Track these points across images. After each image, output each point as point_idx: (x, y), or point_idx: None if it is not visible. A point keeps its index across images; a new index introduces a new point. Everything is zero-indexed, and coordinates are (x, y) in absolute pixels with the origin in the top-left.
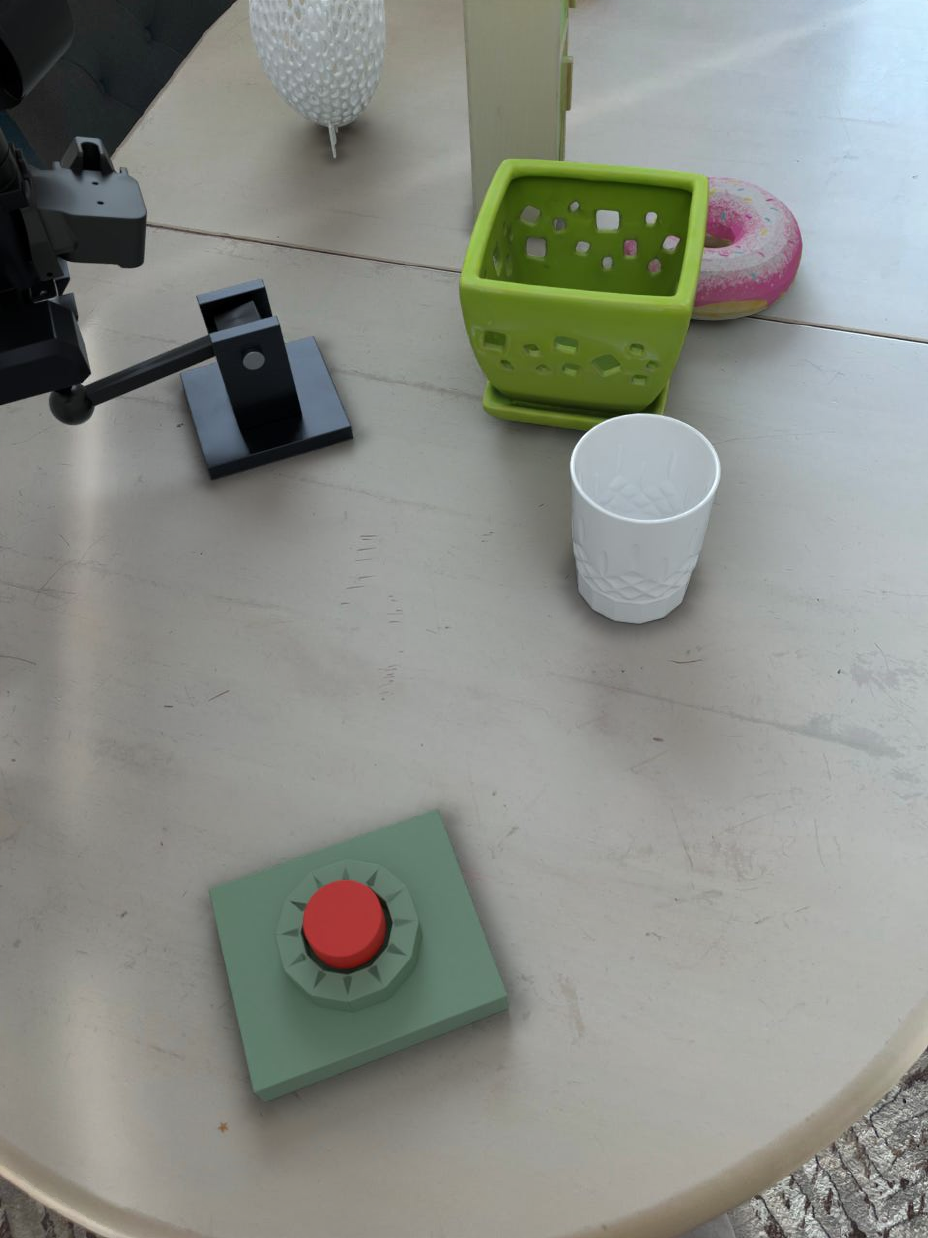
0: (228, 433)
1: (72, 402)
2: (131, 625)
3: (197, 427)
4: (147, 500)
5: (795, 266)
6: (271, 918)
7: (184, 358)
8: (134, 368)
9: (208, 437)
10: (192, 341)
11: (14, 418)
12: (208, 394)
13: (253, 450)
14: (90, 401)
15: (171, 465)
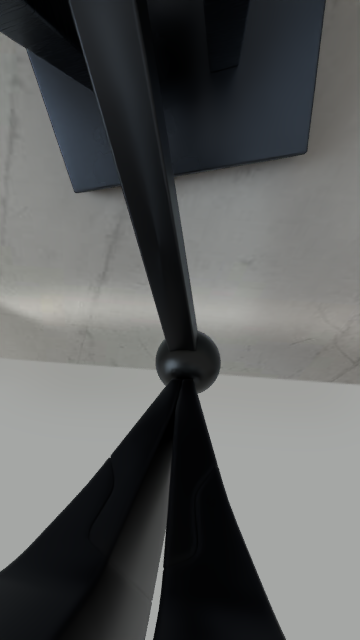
0: (237, 96)
1: (211, 372)
2: None
3: (202, 166)
4: (288, 256)
5: None
6: None
7: (159, 120)
8: (157, 273)
9: (233, 145)
10: (91, 68)
11: (123, 365)
12: None
13: (310, 26)
14: (199, 342)
15: (238, 220)
